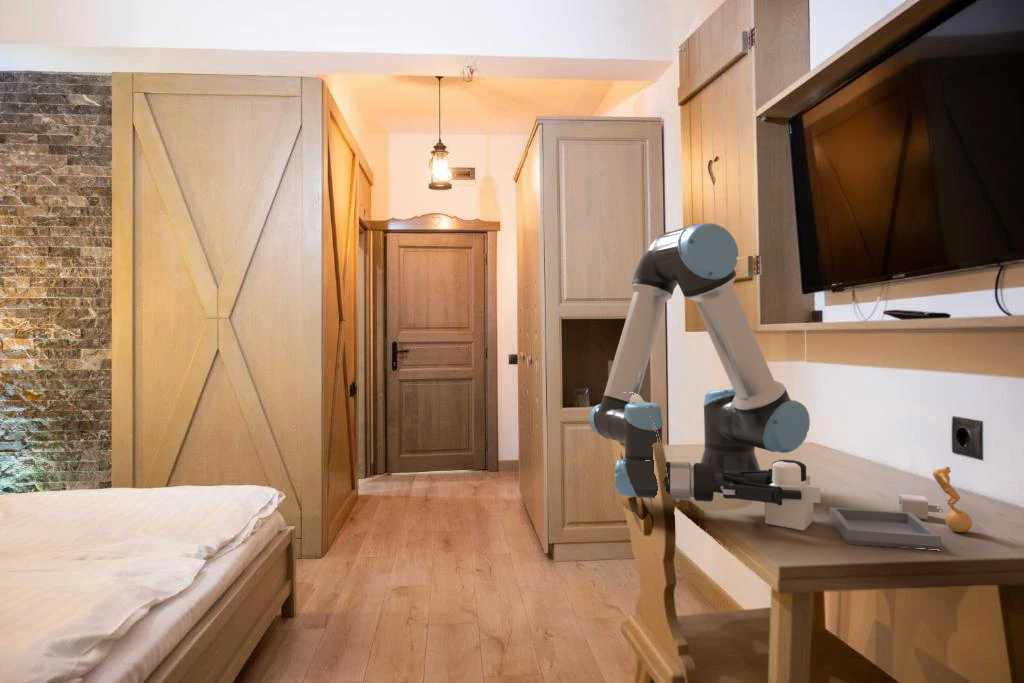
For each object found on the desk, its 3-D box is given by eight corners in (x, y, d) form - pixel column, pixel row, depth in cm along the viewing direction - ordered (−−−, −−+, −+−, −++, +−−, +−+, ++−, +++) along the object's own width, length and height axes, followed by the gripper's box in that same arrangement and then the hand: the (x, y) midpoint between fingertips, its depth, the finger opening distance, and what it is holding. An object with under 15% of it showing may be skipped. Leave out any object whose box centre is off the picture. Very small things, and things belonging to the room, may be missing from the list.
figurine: (980, 540, 106) (981, 472, 106) (941, 537, 108) (941, 470, 108) (962, 525, 114) (962, 462, 114) (925, 523, 116) (925, 461, 116)
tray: (829, 519, 119) (829, 507, 119) (911, 525, 115) (911, 512, 115) (848, 544, 105) (848, 529, 105) (940, 551, 102) (940, 536, 101)
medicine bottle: (775, 515, 122) (775, 456, 122) (813, 521, 118) (813, 460, 118) (764, 524, 117) (764, 462, 117) (804, 531, 112) (804, 467, 112)
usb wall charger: (898, 512, 123) (898, 493, 123) (939, 516, 120) (939, 496, 120) (902, 518, 120) (902, 498, 119) (944, 522, 117) (944, 502, 117)
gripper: (692, 486, 133) (804, 492, 126) (693, 516, 112) (827, 525, 105) (691, 452, 133) (803, 457, 126) (693, 475, 112) (827, 482, 105)
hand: (814, 488), depth 116 cm, fingers closed on medicine bottle, 9 cm apart
